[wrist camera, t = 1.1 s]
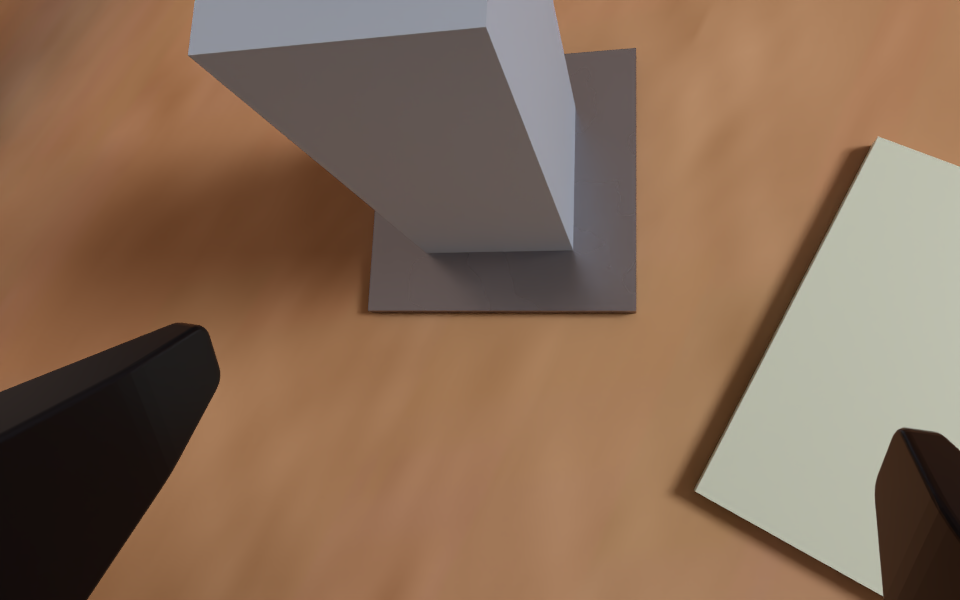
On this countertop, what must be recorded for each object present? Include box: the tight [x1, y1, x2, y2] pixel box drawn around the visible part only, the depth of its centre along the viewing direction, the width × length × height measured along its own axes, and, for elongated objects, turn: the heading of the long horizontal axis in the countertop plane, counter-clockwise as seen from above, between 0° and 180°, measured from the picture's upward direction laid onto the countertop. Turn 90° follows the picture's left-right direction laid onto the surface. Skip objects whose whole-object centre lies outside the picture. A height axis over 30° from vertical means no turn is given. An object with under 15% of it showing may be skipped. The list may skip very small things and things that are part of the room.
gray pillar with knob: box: [188, 0, 575, 253], centre depth 17 cm, size 5×5×14 cm
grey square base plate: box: [368, 48, 636, 313], centre depth 22 cm, size 9×9×3 cm
